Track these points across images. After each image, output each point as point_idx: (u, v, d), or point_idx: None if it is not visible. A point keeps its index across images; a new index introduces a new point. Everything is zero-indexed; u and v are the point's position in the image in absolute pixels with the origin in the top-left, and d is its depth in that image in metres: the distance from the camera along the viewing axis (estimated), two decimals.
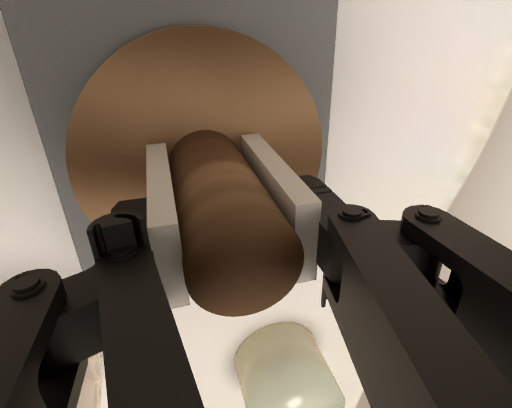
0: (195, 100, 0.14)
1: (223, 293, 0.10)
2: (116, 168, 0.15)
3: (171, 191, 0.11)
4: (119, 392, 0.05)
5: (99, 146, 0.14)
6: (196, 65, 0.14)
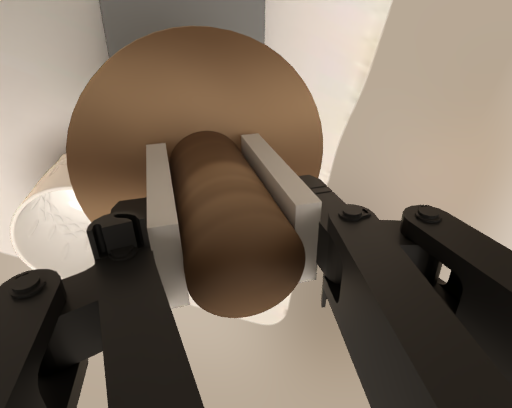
0: (196, 101, 0.14)
1: (224, 294, 0.10)
2: (117, 169, 0.15)
3: (171, 191, 0.11)
4: (119, 392, 0.05)
5: (100, 147, 0.14)
6: (196, 66, 0.14)
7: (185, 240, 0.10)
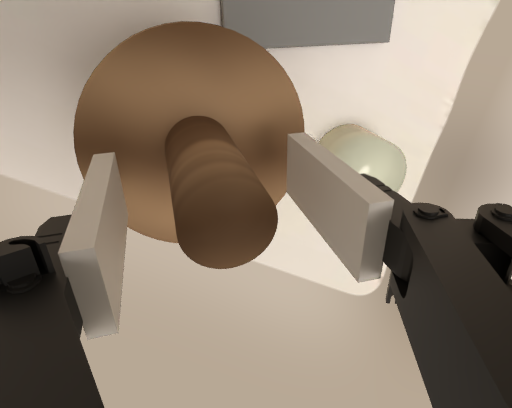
0: (187, 89, 0.16)
1: (209, 247, 0.11)
2: (118, 151, 0.17)
3: (100, 209, 0.10)
4: None
5: (103, 131, 0.16)
6: (187, 57, 0.16)
7: (176, 202, 0.11)
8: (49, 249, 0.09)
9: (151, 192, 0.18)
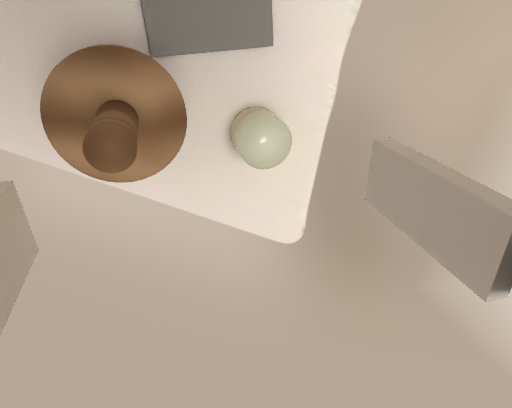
0: (106, 83, 0.28)
1: (102, 160, 0.23)
2: (68, 122, 0.28)
3: None
4: None
5: (58, 110, 0.28)
6: (103, 65, 0.27)
7: None
8: None
9: None
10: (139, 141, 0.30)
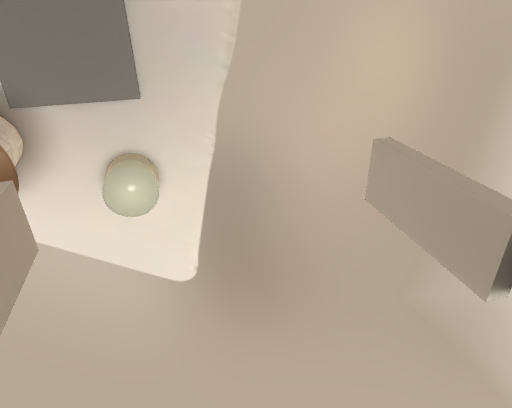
0: None
1: None
2: None
3: None
4: None
5: None
6: None
7: None
8: None
9: None
10: None
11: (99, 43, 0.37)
